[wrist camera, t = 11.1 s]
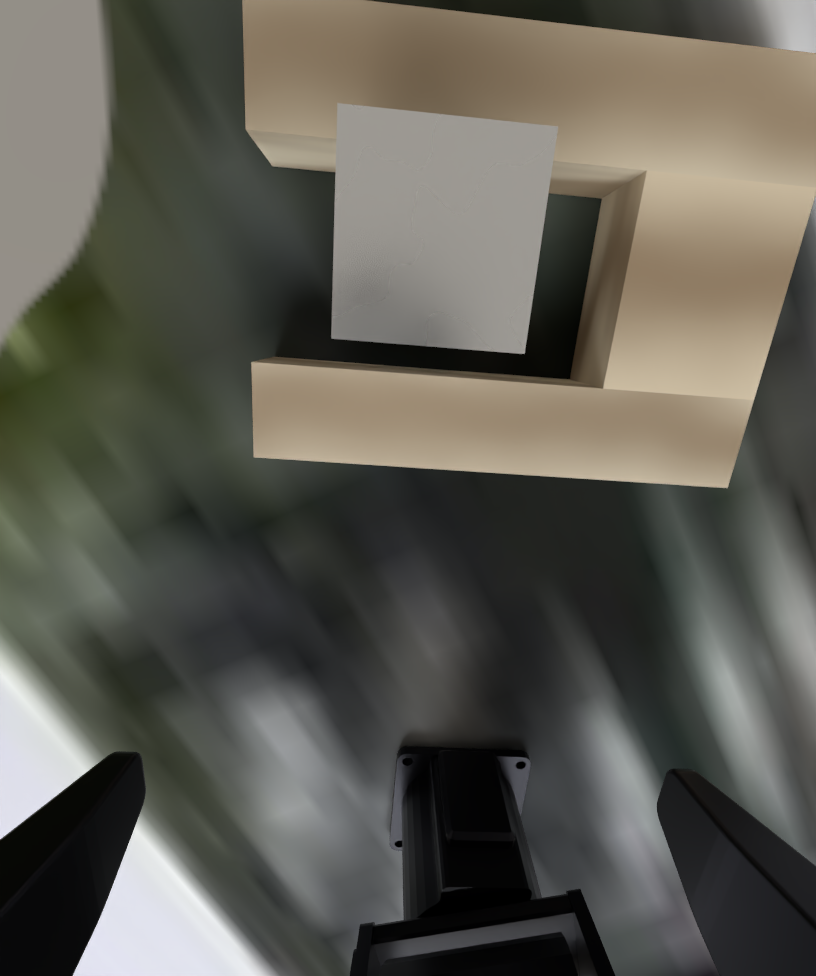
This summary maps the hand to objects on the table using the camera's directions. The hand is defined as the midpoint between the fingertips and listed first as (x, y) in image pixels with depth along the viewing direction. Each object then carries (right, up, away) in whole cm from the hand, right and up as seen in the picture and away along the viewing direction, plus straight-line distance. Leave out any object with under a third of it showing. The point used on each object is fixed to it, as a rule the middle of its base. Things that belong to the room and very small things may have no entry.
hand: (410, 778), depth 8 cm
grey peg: (0, +12, +9) cm, 15 cm away
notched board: (+3, +12, +9) cm, 15 cm away
